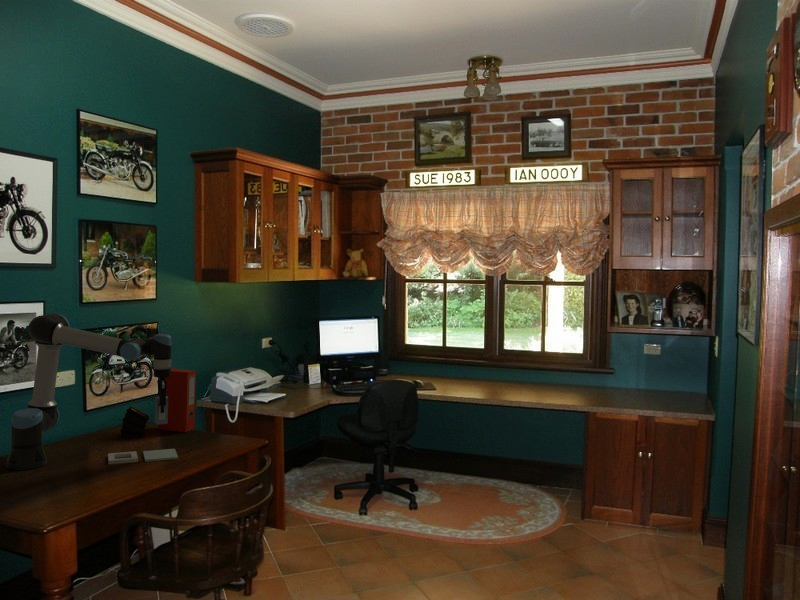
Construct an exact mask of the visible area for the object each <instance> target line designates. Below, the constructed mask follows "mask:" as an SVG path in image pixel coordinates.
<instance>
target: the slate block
mask: <svg viewBox="0 0 800 600" xmlns="http://www.w3.org/2000/svg"><path fill="white" fill-rule="evenodd" d="M162 403H163V402H162ZM159 404H160V396H158V395H157V396H155V404H154V405H155V408H154V409H155V410H154V414H155V415H154V424H155V425H157V426H158V424H168V397H167V396H166V405H165V420H159V406H158V405H159Z"/></svg>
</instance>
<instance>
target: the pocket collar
mask: <svg viewBox="0 0 800 600" xmlns="http://www.w3.org/2000/svg"><path fill="white" fill-rule="evenodd" d="M107 461H108V462H107V464H108V465H119V464H127V463H129V464H130V463H138V462H139V457H138V453H137V451H124V452H121V451H120V452H112V453H107Z"/></svg>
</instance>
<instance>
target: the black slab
mask: <svg viewBox="0 0 800 600" xmlns="http://www.w3.org/2000/svg"><path fill="white" fill-rule="evenodd" d="M121 420H122V425H121V429H120V431H119V432H120V433H121V435H120V436H121V437H122V438H144V437H145V434H146V431H145V428H146V427H147V422H148V421H149V420H150V416H149V415H148V414H146V413H144V412H142V411H140V410H138V409H136V408H135V407H133V406H130V407H128V408H127V409H126V410H125V415H124V418H122V419H121Z"/></svg>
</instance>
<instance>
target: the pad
mask: <svg viewBox="0 0 800 600" xmlns="http://www.w3.org/2000/svg"><path fill="white" fill-rule="evenodd" d="M142 455H143V458H144V462H145V463H149V462H159V461H160V462H161V461H170V460H179V456H178V453H177V451H176V449H175V448H165V449H155V450H154V449H152V450H143V451H142Z"/></svg>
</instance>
